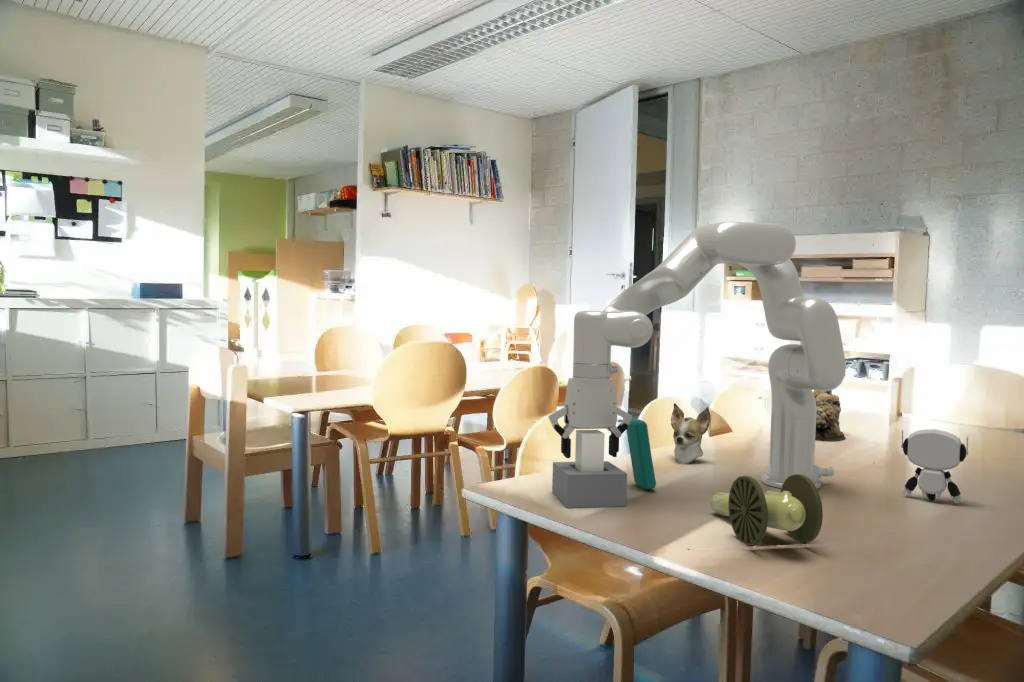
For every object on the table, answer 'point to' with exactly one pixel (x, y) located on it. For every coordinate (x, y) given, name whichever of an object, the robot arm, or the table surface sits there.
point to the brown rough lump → (827, 417)
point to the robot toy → (934, 462)
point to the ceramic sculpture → (688, 434)
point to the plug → (589, 450)
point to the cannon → (771, 509)
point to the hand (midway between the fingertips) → (589, 456)
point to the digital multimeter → (641, 454)
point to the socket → (589, 486)
